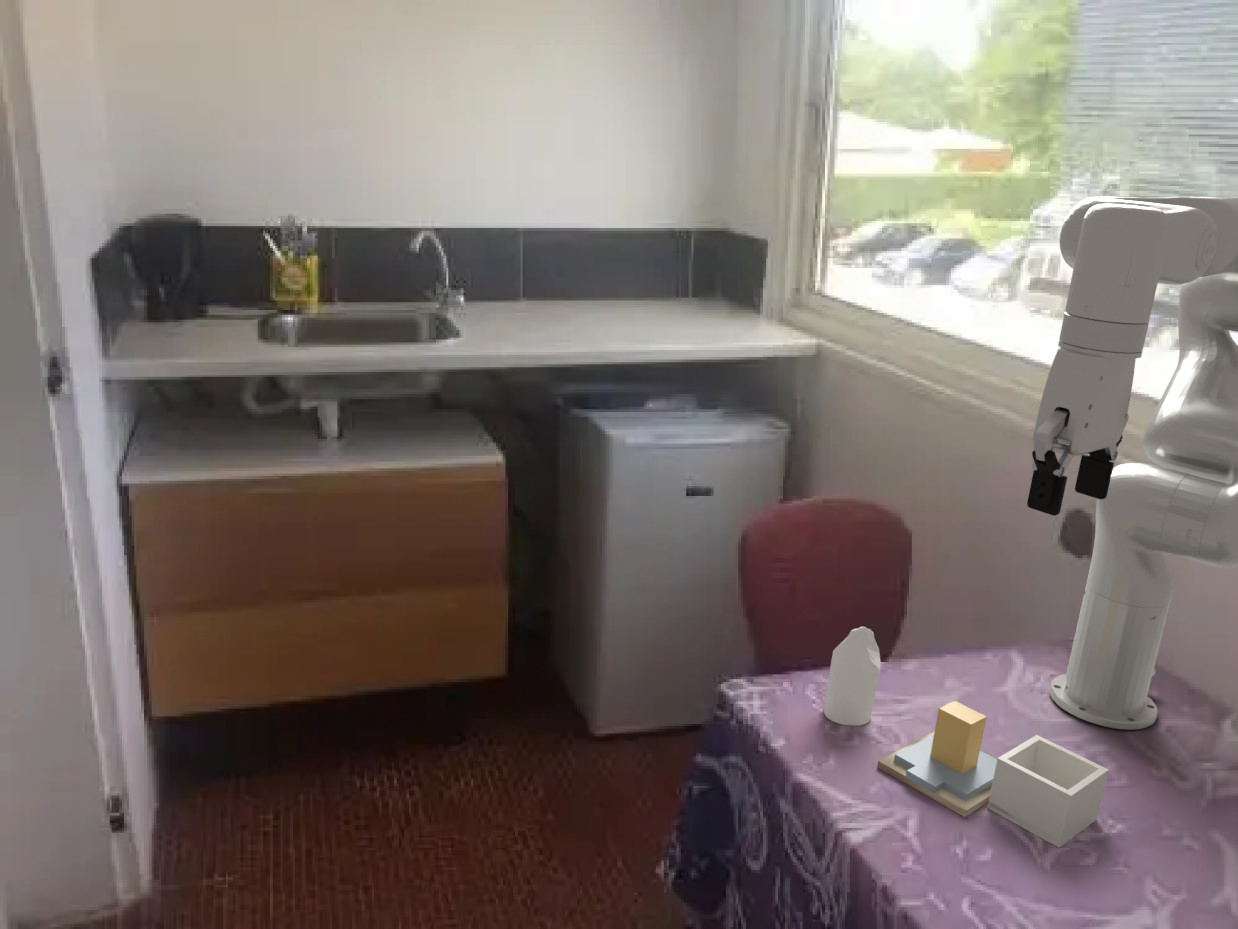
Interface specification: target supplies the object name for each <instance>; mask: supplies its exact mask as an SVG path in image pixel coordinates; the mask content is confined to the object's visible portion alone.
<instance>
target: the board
mask: <svg viewBox="0 0 1238 929" xmlns="http://www.w3.org/2000/svg"><path fill="white" fill-rule="evenodd" d="M934 732H935V730H934V731H932V732H931V733H929V734H927V735H924V736H923V737H920V738H919V739H917V740H915V741H914V742H911V743H909V744H908V745H905V746H904V747H902V748H900V749H898V750H896V751H894V752H892V753H890V754H888V755H886V756H884V757H883V758H881V759H879V760H878V761H877V765H876V767H877V768H878V769H880V770H881V771H883V772H885V773H887V774H888V775H890V776H892V777H893V778H896V779H897V780H899V781H901V782H902V783H904V784H906V785H907V786H910V787H911V788H912V789H915V790H916V791H918V792H920V793H922V794H923V795H926V796H927V797H929V798H931V799H932V800H934V801H936V802H937V803H939V804H941V805H943V806H944V807H946V808H948V809H949V810H951V811H953V812H955V813H956V814H958V815H961V816H962V817H963V818H966V817H967V816H969V815H971V814H973V813H974V812H975V811H977V810H978V809H980V808H982V807H983V806H985V805H986V804H988V802H989V797H990V792H991V788H992V785H991V786H989V787H988V788H986V789H984V790H983V791H981V792H979V793H978V794H976V795H974V796H973V797H971V798H969V799H967V800H966V801H964V800H963V799H961V798H959V797H957V796H956V795H954V794H952V793H950V792H949V791H947V790H945V789H941V790H939V791H937V792H936V793H933V792H931V791H929V790H928V789H926V788H924V787H922V786H921V785H919V784H917V783H916V782H914V781H912V780H910V779H909V778H907V777H906V773H907V770H909V769H908V768H906V767H904V766H903V765H901V764H899V763H897V762H896V761H894V757H895V754H896V753H898V752H900V751H902V750H904V749H906V748H908V747H910V746H912V745H914V744H916V743H918V742H920V741H922V740H924V739H926V738H928V737H930V736H932V735H934ZM980 751H982V752H984V753H986V754H988V755H990V756H992V757H994V758H995V759H998V758H999V757H996V756H993V755H992V754H990V753H987V752H986V751H984V750H982V749H980Z"/></svg>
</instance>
